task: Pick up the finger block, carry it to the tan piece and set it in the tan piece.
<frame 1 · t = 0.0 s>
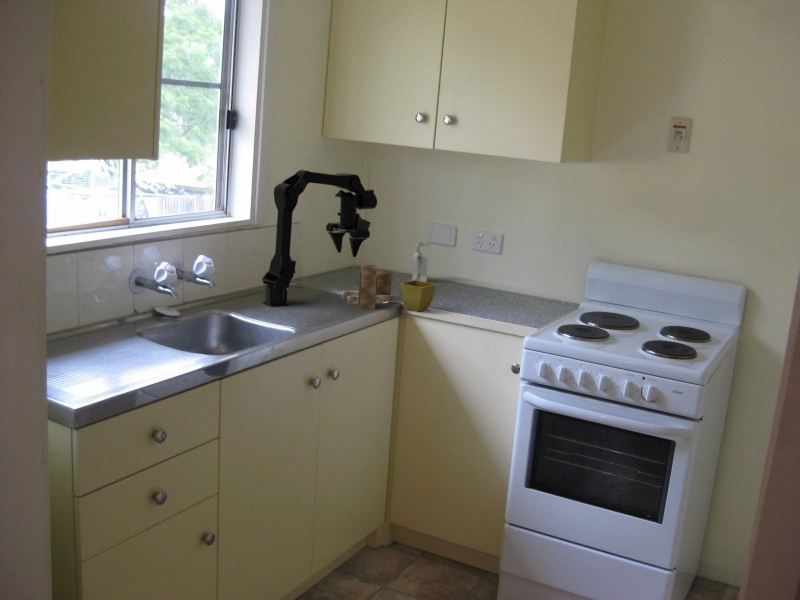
hand: (346, 254, 310), 15 cm above the table, tool pointing down, fingers open, 9 cm apart
tan piece: (366, 300, 308), on the table
finger block: (367, 307, 298), on the table
flower pot: (416, 310, 299), on the table
soap dispenser bottle: (419, 282, 343), on the table
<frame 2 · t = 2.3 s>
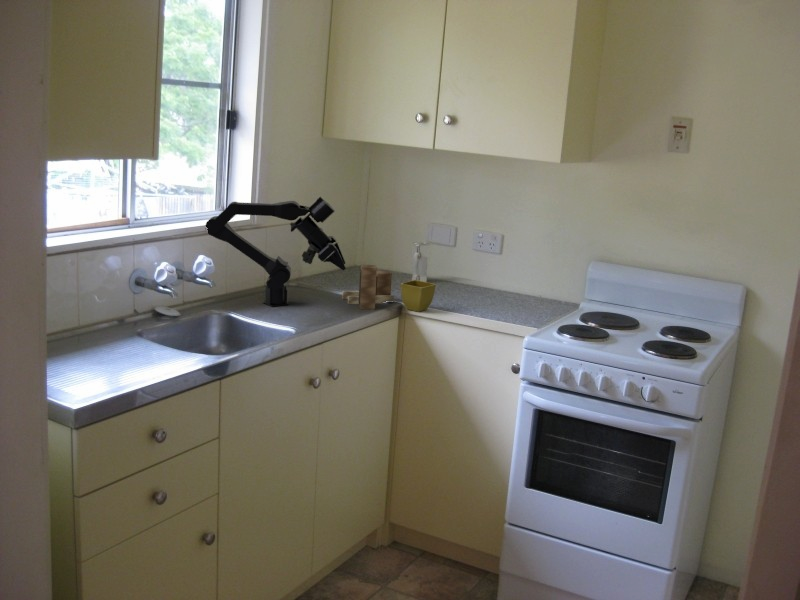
hand: (344, 266, 295), 13 cm above the table, tool tilted 45°, fingers open, 9 cm apart
nothing on the table moved.
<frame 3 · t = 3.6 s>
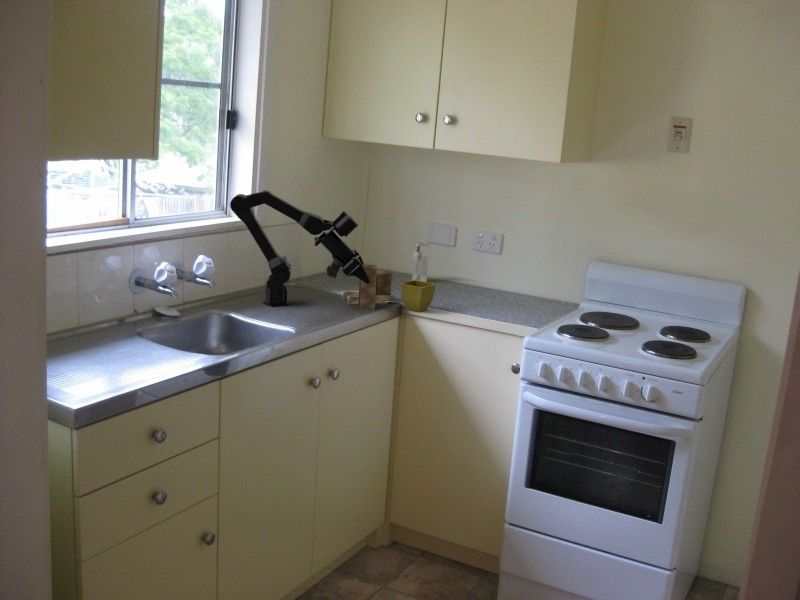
hand: (368, 280, 296), 9 cm above the table, tool tilted 45°, fingers open, 9 cm apart
nothing on the table moved.
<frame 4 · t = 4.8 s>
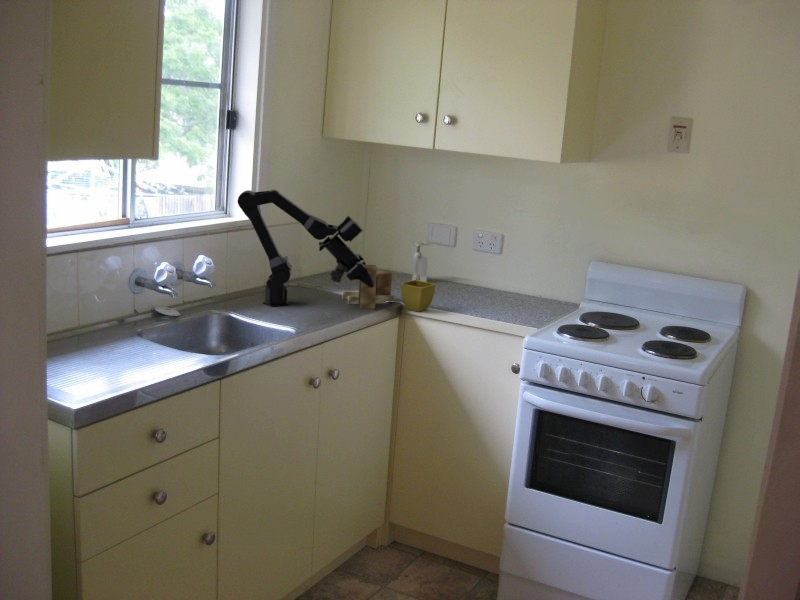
hand: (372, 285, 297), 8 cm above the table, tool tilted 45°, fingers closed on finger block, 5 cm apart
finger block: (367, 307, 298), on the table, touching gripper
everything else where it was.
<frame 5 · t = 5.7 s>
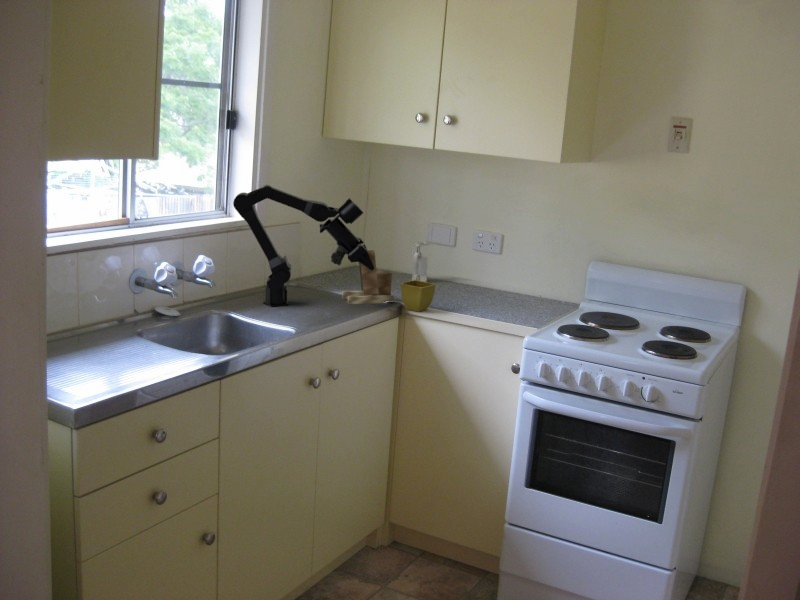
hand: (372, 267, 296), 13 cm above the table, tool tilted 45°, fingers closed on finger block, 5 cm apart
finger block: (370, 293, 298), point 5 cm above the table, tilted 8°, touching gripper
everything else where it was.
when the fingers open (9 cm above the table, at t = 7.5 s): finger block stays where it is, resting in tan piece.
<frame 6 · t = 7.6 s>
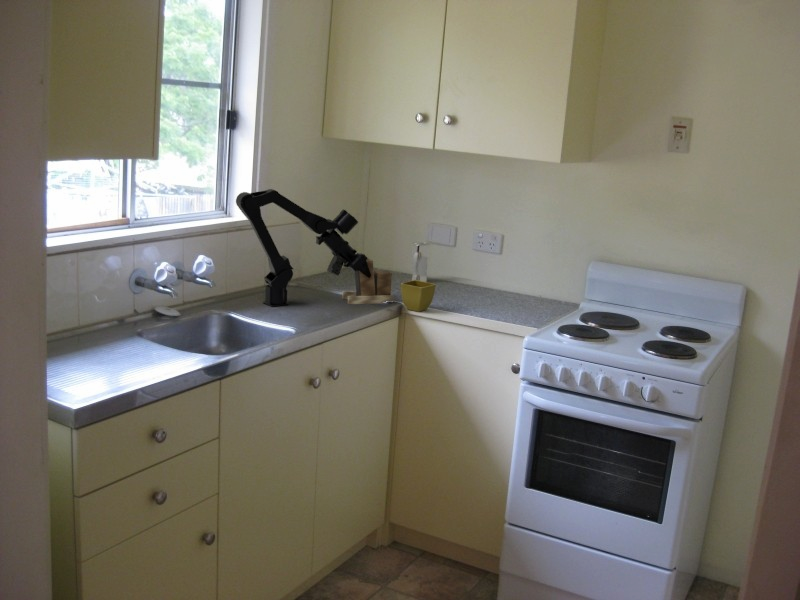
hand: (367, 275, 306), 9 cm above the table, tool tilted 45°, fingers open, 6 cm apart
finger block: (366, 300, 307), resting in tan piece, tilted 7°, touching gripper
everything else where it was.
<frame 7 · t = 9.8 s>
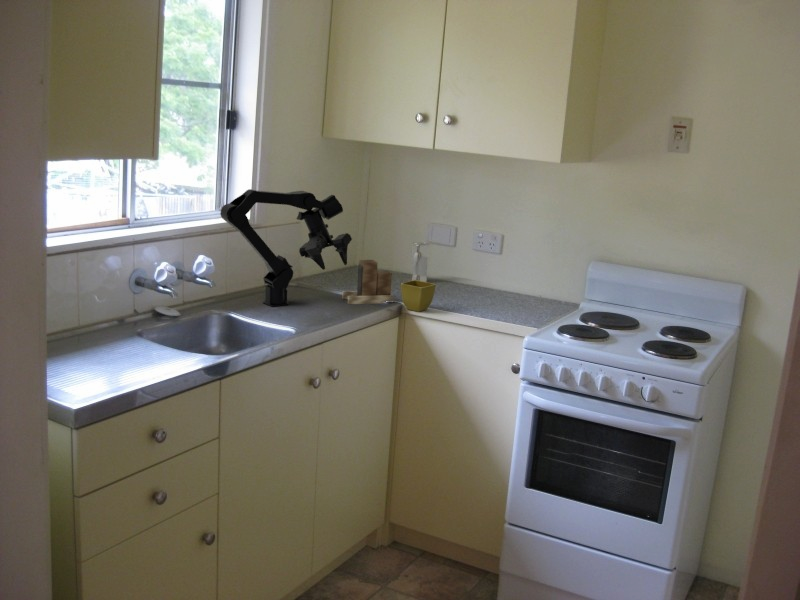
hand: (335, 266, 303), 12 cm above the table, tool tilted 25°, fingers open, 9 cm apart
finger block: (366, 301, 307), resting in tan piece
everything else where it was.
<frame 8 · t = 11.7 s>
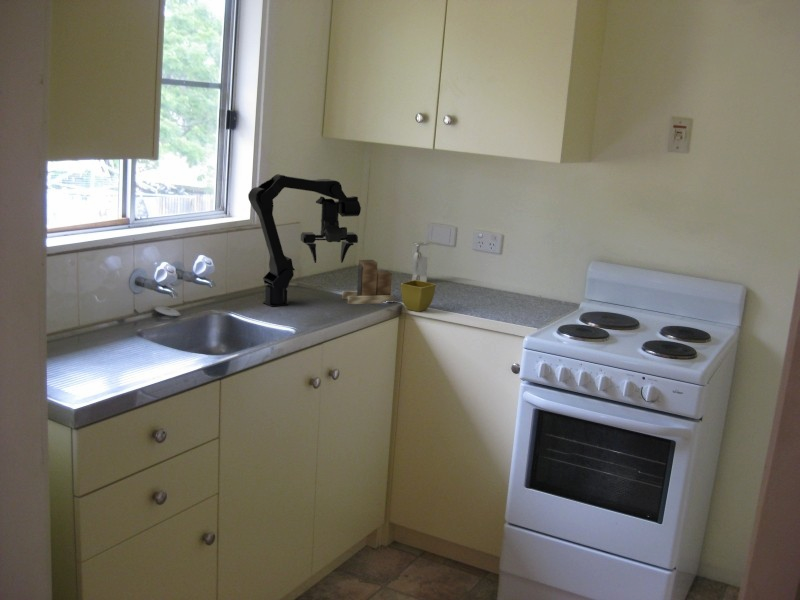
hand: (328, 262, 303), 13 cm above the table, tool pointing down, fingers open, 9 cm apart
nothing on the table moved.
at the end: finger block 1.5 cm from the target spot, resting in tan piece; finger block tilted 0°; the gripper is holding nothing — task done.
